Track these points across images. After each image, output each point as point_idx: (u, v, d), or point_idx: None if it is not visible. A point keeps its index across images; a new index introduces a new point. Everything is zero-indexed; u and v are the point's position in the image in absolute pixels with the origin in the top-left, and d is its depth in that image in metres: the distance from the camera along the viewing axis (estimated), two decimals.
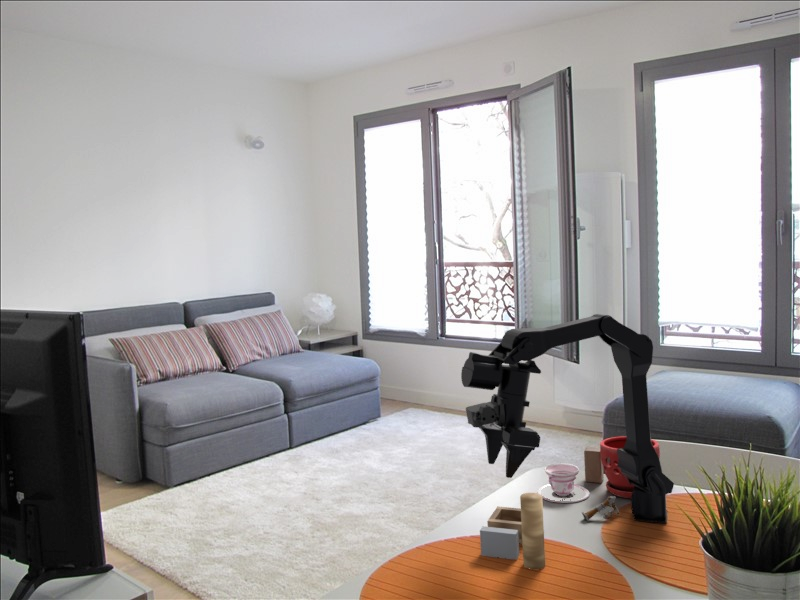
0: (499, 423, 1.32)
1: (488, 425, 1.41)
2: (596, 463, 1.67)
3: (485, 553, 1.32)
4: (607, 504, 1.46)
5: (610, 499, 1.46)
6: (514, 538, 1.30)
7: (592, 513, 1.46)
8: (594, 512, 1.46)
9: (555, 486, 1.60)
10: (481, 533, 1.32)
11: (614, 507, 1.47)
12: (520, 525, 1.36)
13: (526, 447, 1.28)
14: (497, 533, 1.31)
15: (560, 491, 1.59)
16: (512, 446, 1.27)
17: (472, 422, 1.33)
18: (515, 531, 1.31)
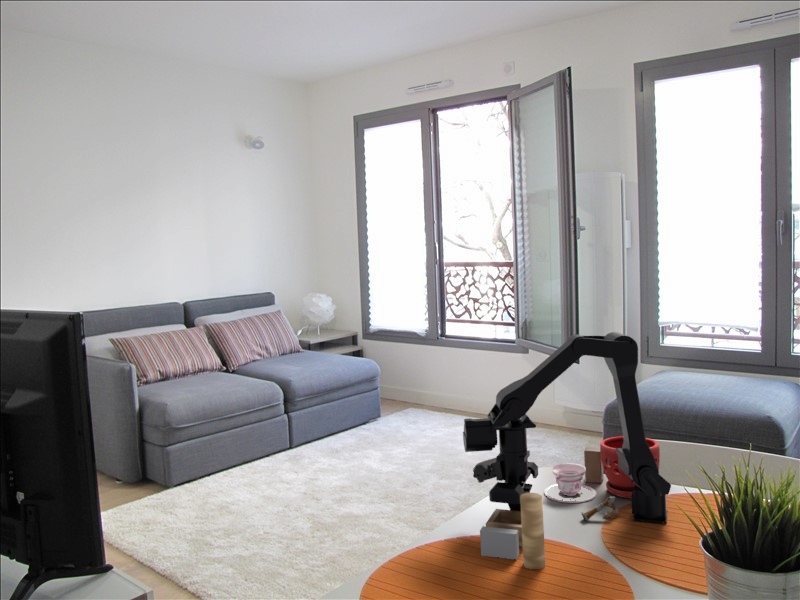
0: (497, 479, 1.43)
1: None
2: (596, 463, 1.67)
3: (485, 553, 1.32)
4: (606, 504, 1.46)
5: (609, 499, 1.46)
6: (514, 538, 1.30)
7: (591, 513, 1.46)
8: (593, 512, 1.46)
9: (562, 486, 1.60)
10: (481, 533, 1.32)
11: (613, 507, 1.47)
12: (518, 528, 1.35)
13: None
14: (497, 533, 1.31)
15: (567, 491, 1.59)
16: None
17: None
18: (515, 531, 1.31)
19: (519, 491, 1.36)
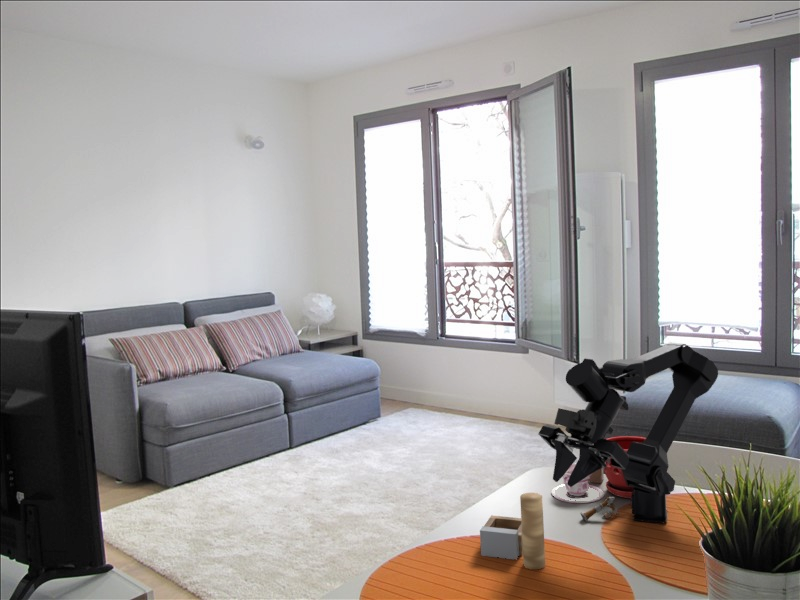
0: (589, 434, 1.30)
1: (565, 442, 1.35)
2: None
3: (485, 553, 1.32)
4: (606, 504, 1.46)
5: (609, 499, 1.46)
6: (514, 538, 1.30)
7: (590, 513, 1.46)
8: (592, 512, 1.46)
9: None
10: (481, 533, 1.32)
11: (613, 507, 1.47)
12: None
13: (602, 461, 1.29)
14: (497, 533, 1.31)
15: (574, 492, 1.59)
16: (594, 454, 1.28)
17: (567, 422, 1.29)
18: (515, 531, 1.31)
19: None
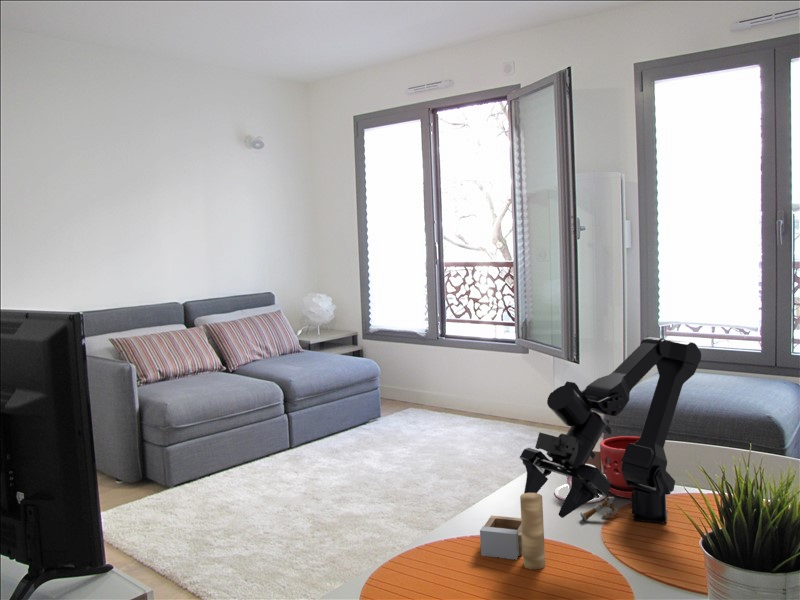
0: (570, 460, 1.28)
1: (536, 463, 1.35)
2: (596, 463, 1.67)
3: (485, 553, 1.32)
4: (605, 504, 1.46)
5: (608, 499, 1.46)
6: (514, 538, 1.30)
7: (590, 513, 1.46)
8: (592, 512, 1.46)
9: None
10: (481, 533, 1.32)
11: (612, 507, 1.47)
12: None
13: (595, 491, 1.24)
14: (497, 533, 1.31)
15: None
16: (587, 483, 1.23)
17: (548, 446, 1.27)
18: (515, 531, 1.31)
19: None
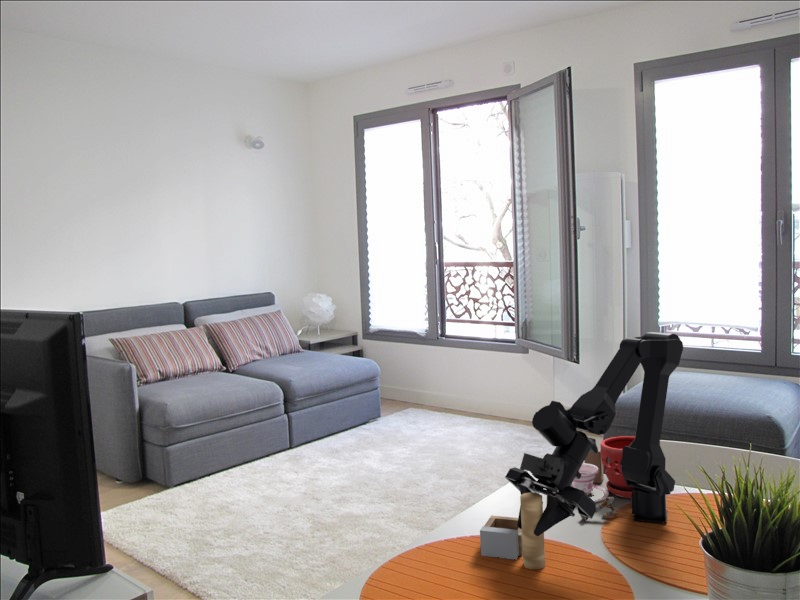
0: (555, 481, 1.26)
1: (530, 487, 1.31)
2: (596, 463, 1.67)
3: (485, 553, 1.32)
4: (605, 505, 1.46)
5: (608, 500, 1.46)
6: (514, 538, 1.30)
7: None
8: None
9: (575, 486, 1.59)
10: (481, 533, 1.32)
11: (612, 508, 1.46)
12: None
13: (570, 510, 1.24)
14: (497, 533, 1.31)
15: None
16: (561, 502, 1.23)
17: (532, 468, 1.25)
18: (515, 531, 1.31)
19: None
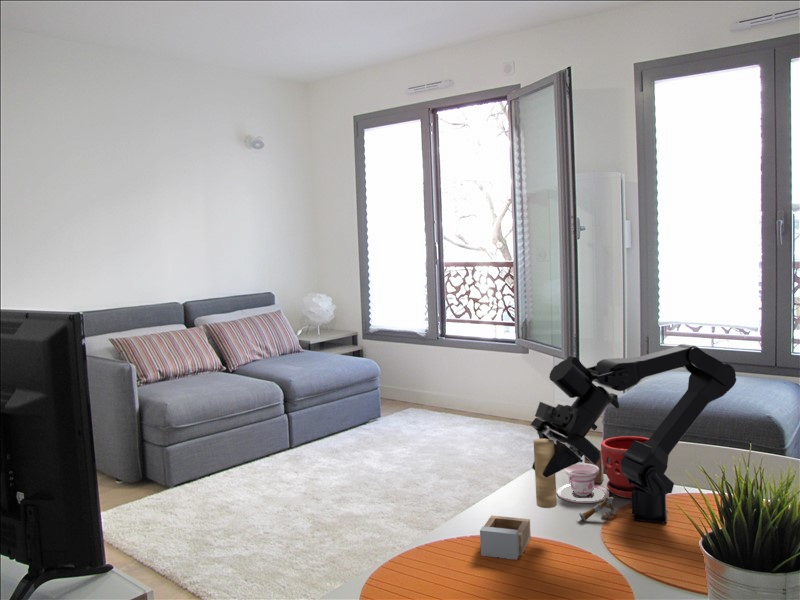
0: (565, 429, 1.36)
1: (549, 434, 1.41)
2: (596, 463, 1.67)
3: (485, 553, 1.32)
4: (604, 505, 1.46)
5: (607, 500, 1.46)
6: (514, 538, 1.30)
7: (589, 514, 1.45)
8: (591, 513, 1.46)
9: (575, 486, 1.59)
10: (481, 533, 1.32)
11: (612, 508, 1.46)
12: None
13: (577, 456, 1.34)
14: (497, 533, 1.31)
15: (580, 491, 1.59)
16: (567, 447, 1.33)
17: (543, 415, 1.36)
18: (515, 531, 1.31)
19: None
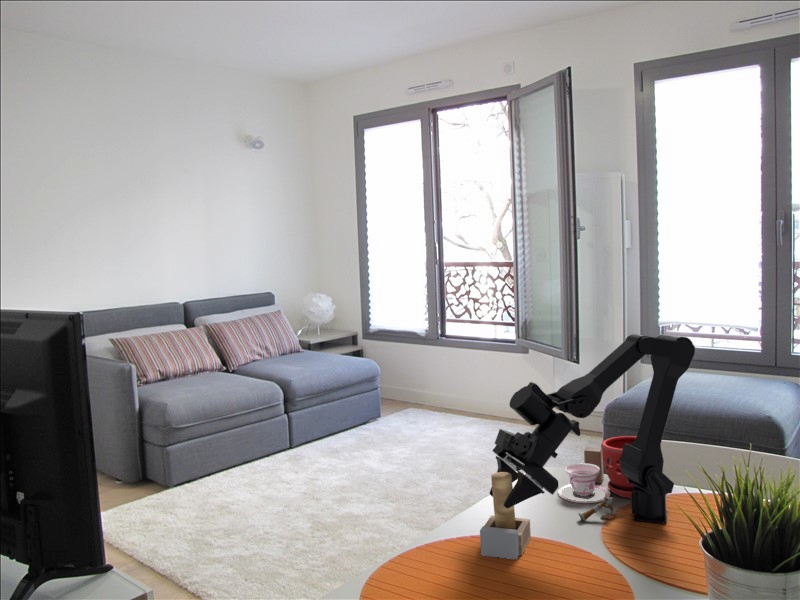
0: (524, 457, 1.33)
1: (507, 460, 1.40)
2: (596, 463, 1.67)
3: (485, 553, 1.32)
4: (604, 505, 1.46)
5: (607, 500, 1.46)
6: (514, 538, 1.30)
7: (589, 514, 1.45)
8: (591, 513, 1.46)
9: (576, 486, 1.59)
10: (481, 533, 1.32)
11: (611, 508, 1.46)
12: None
13: (538, 487, 1.30)
14: (497, 533, 1.31)
15: (581, 492, 1.59)
16: (528, 478, 1.30)
17: (502, 443, 1.34)
18: (515, 531, 1.31)
19: None
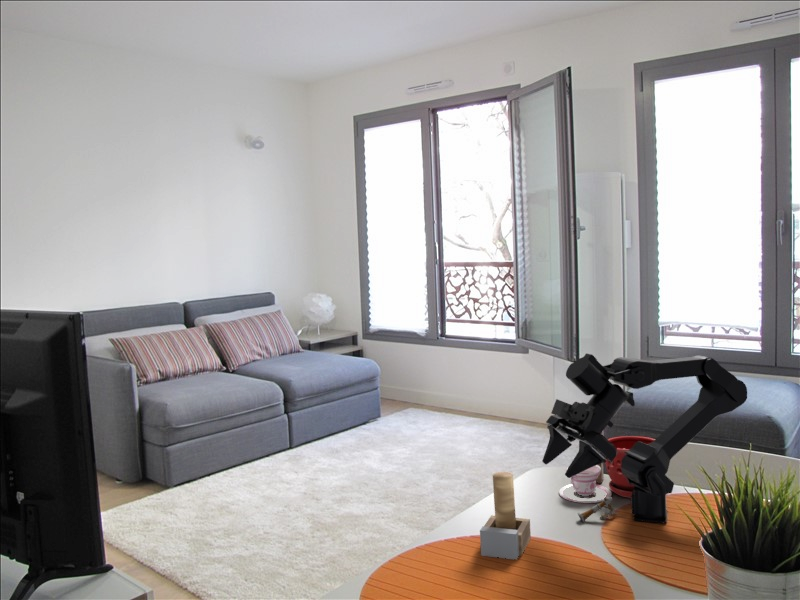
0: (582, 426, 1.36)
1: (559, 429, 1.45)
2: None
3: (485, 553, 1.32)
4: (603, 505, 1.46)
5: (606, 500, 1.46)
6: (514, 538, 1.30)
7: (588, 514, 1.45)
8: (590, 513, 1.45)
9: (577, 486, 1.59)
10: (481, 533, 1.32)
11: (610, 508, 1.46)
12: None
13: (600, 456, 1.32)
14: (497, 533, 1.31)
15: (582, 491, 1.59)
16: (590, 448, 1.31)
17: (559, 412, 1.37)
18: (515, 531, 1.31)
19: None
